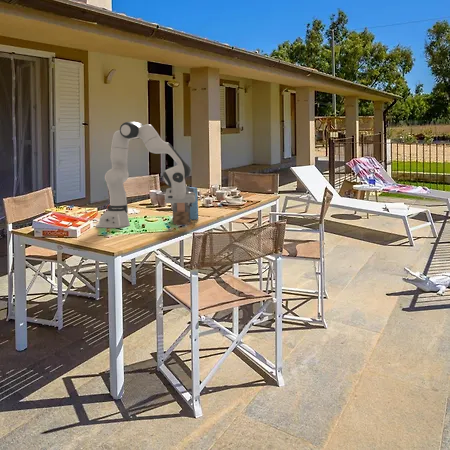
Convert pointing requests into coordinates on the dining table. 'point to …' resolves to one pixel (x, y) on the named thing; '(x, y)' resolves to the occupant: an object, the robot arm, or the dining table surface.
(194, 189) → the gum box
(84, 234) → the dining table surface
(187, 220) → the wall board with cleat
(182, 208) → the salmon brown rectangular block
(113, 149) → the robot arm
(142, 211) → the dining table surface
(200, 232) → the dining table surface
